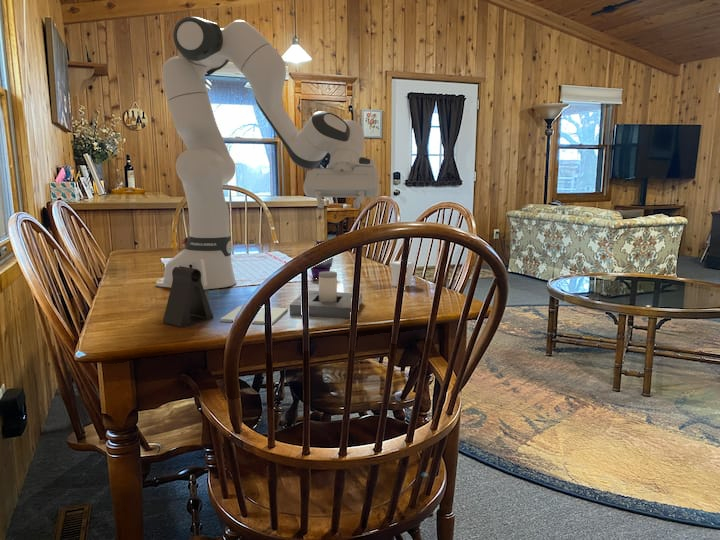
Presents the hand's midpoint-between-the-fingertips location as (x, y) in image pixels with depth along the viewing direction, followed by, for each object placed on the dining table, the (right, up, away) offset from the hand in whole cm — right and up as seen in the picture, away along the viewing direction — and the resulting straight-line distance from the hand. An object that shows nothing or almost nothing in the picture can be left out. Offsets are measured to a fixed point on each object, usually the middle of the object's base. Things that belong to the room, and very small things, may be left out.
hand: (338, 206), depth 137 cm
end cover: (-2, -26, -7) cm, 27 cm away
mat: (-19, -27, -14) cm, 36 cm away
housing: (-2, -26, -7) cm, 27 cm away
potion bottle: (-7, -19, +31) cm, 37 cm away
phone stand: (-33, -28, -19) cm, 47 cm away
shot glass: (+18, -21, +22) cm, 36 cm away
